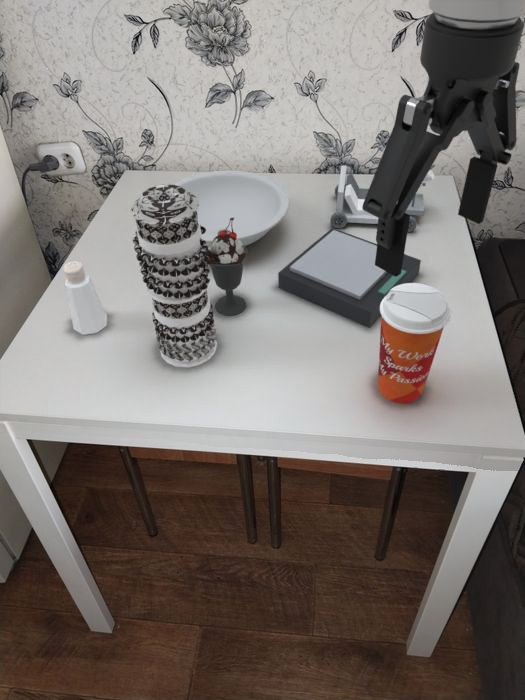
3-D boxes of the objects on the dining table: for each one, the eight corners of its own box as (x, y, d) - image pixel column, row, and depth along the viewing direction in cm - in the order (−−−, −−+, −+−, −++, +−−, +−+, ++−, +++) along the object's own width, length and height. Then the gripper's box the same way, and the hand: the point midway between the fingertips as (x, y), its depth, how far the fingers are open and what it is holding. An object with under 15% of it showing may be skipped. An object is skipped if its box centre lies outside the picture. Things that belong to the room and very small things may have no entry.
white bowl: (289, 199, 116) (289, 168, 112) (290, 272, 99) (289, 239, 95) (169, 201, 117) (163, 171, 113) (148, 274, 100) (141, 241, 96)
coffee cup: (362, 400, 78) (373, 315, 68) (377, 359, 84) (389, 274, 73) (425, 417, 76) (447, 331, 65) (437, 374, 81) (458, 288, 71)
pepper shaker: (68, 320, 92) (48, 262, 85) (101, 308, 94) (84, 250, 87) (79, 340, 89) (59, 282, 81) (113, 327, 91) (97, 269, 83)
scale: (418, 275, 98) (421, 256, 95) (369, 327, 89) (371, 308, 86) (331, 242, 105) (332, 223, 103) (278, 287, 96) (278, 268, 94)
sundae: (253, 292, 96) (248, 211, 85) (249, 319, 91) (243, 237, 80) (213, 291, 96) (203, 210, 86) (206, 318, 91) (195, 236, 81)
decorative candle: (159, 328, 90) (127, 178, 73) (219, 324, 90) (202, 173, 73) (154, 371, 84) (118, 217, 66) (219, 366, 84) (201, 212, 66)
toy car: (436, 152, 107) (439, 184, 99) (427, 200, 114) (430, 233, 106) (337, 149, 110) (332, 179, 102) (334, 196, 117) (330, 228, 109)
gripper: (521, -23, 54) (472, 187, 69) (329, 42, 43) (319, 276, 58) (600, -9, 50) (530, 212, 65) (411, 67, 39) (378, 313, 53)
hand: (430, 242), depth 61 cm, fingers open, 13 cm apart
